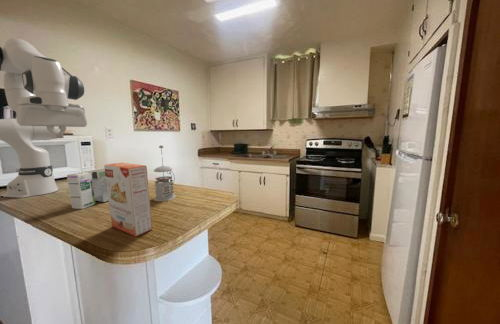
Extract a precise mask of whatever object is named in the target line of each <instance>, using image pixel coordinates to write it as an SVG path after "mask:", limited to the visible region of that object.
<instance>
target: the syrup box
mask: <svg viewBox="0 0 500 324" xmlns="http://www.w3.org/2000/svg"><path fill="white" fill-rule="evenodd" d="M66 179H67V185H68V190H69V196H70V197H69V198H70V203H71V208H72V209H75V210H76V209H78V210H85V208H88V207H92V206H95V205H96V201H95V198H94V191H93V184H92V177H91V173H90V172H84V171H83V172H82V171H81V172H76V173H70V174H67V175H66Z"/></svg>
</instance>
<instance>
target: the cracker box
mask: <svg viewBox="0 0 500 324" xmlns="http://www.w3.org/2000/svg"><path fill="white" fill-rule="evenodd" d="M104 168H105V175H106V183H107V191H108V199H109V201H108V206H109V213H110V219H111V220H110V221H111V222H110V223H111V227H113V228H115V229H117V230H120V231H121V232H124V233H126V234H128V235H131V236H133V237H135V238H136V237H138V236H140V235H143V234H145V233H147V232H150V231H151V230H153V221H152V212H151V211H152V210H151V201H150V191H149V189H150V188H149V180H148V169H147V165H143V164H135V163H129V162H128V163H127V162H117V163H116V162H115V163H108V164H104Z"/></svg>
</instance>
